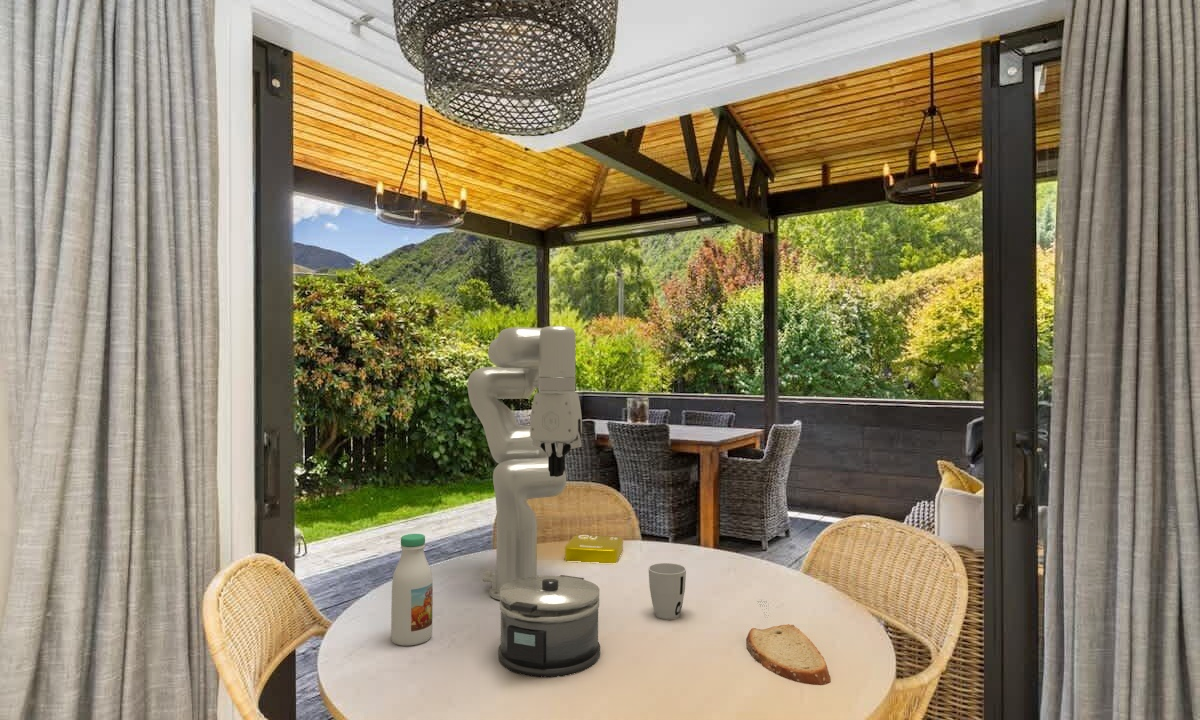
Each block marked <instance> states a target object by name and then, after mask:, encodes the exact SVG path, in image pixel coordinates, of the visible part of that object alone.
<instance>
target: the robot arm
mask: <svg viewBox="0 0 1200 720" xmlns="http://www.w3.org/2000/svg"><path fill="white" fill-rule="evenodd" d="M487 354H488V358H489V360H490V361H491V362H492V364H493V365H495V366H486V367H480V368H476V369H475V370H473V371H472V372H471V373H470V374H469V376H468V380H467V392H468V399H469V403H470V405H471V407H472V409H473V411H474V413H475V415H476V416H477V419H479V421H480V423H481V424H482V426H483V431H484V434H485V438H486V441H487V444H488V447H489V451H490V452H489V453H490V454H491V457H492V459H493V460H494V461H495V462H496V463H497V465H495V466H496V467H494V469H493V473H492V482H493V488H494V489H493V490H494V496H495V497H494V498H495V506H496V507H495V508H496V559H495V561H496V564H495V565H496V567H495V568H496V570H495V571H496V572H495V571H492V570H491V571H490V570H485V571H484V573H483V576H482V582H487V583H491V586H490V588H489V596H490V597H491V598H492V599H494V600H497V601H500V588H501V586H502V585H504V584H505V583H507V582H510V581H513V580H516V579H521V578H526V577H535V576H537V574H538V573H537V570H538V569H537V566H538V564H537V561H538V560H537V559H538V558H537V557H538V556H537V555H538V554H537V553H538V548H537V547H538V545H537V543H538V541H537V540H538V520H537V514H536V513H535V511H534V509H532V507H531V506H530V505H529V504H528V502H527V501H528V500H532V499H540V498H541V499H542V498H543V499H544V498H551V497H557V496H560V495H561V494H562V493H563V492H564V491H565V489H566V487H567V486H566V485H567V475H566V470H565V469H566V460H565V459H566V456H567V455H568V453H569V452H570V451H571V450H573V449H577V448H581V447H582V446H583V443H582V440H581V439H582V436H583V419H582V418H583V417H582V409H581V401H580V397H579V393H578V392H576V332H575V329H574V328H572V327H569V326H564V325H562V326H561V325H551V326H549V325H548V326H543V327H525V326H523V327H522V326H521V327H519V326H515V327H506V328H504V329H502V330H501V331H499V333H498V336H497V337H496V338H494V339H493V340H492V341H491V342H490V344H489V346H488V350H487ZM536 388H537V390H538V392H535V391H536ZM533 394H534V396H533V400H532V405H531V411H530V412H531V414H530V423H529V425H519V423H518V422H517V420H516V419H517V418H516V416H515V414H514V413H513V411H512V410H511V408H510V407H508V406H507V405H506V404H505V403H503V402H502V401H500V400H505V399H507V400H508V399H509V400H511V399H512V400H513V399H515V400H517V399H521V400H522V399H527V398H529V397H531V396H532V395H533ZM499 399H500V400H499Z"/></svg>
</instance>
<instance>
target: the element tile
mask: <svg viewBox="0 0 1200 720" xmlns="http://www.w3.org/2000/svg"><path fill="white" fill-rule="evenodd" d="M622 551H623V552H624V538H622V537H620V536H605V535H602V536H601V535H588V534H577V535H574V536H573V537H572V538H571V539H570V540H569V541H568V542H567V544H566V545H565V546H564V561H565V560H566V561H565V562H567V561H581V562H599V563H616V562H617V561H618V562H619V560H620V558H621V556H622V554H623V553H622ZM621 553H622V554H621ZM620 555H621V556H620ZM619 557H620V558H619ZM618 559H619V560H618ZM618 562H617V563H618ZM617 563H616V564H617Z"/></svg>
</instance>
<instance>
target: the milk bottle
mask: <svg viewBox="0 0 1200 720" xmlns="http://www.w3.org/2000/svg"><path fill="white" fill-rule="evenodd" d="M425 543H426V536H425V535H424V534H422V533H409V534H404V535H402V536H401V537H400V549H401V555H400V557H399V561H398V563H397V565H396V568H395V570H394V572H393V576H392V583H391V613H390V614H391V616H390V619H391V620H390V627H391V629H390V632H391V633H390V635H391V638H390V639H391V642H392V643H393V644H395V645H398V646H402V647H404V646H408V647H409V646H416V645H417V646H418V645H421V644H423V643H427V641H429V640H430V639H431V638H432V636H433V604H434V603H433V599H434V598H433V594H434V593H433V590H434V589H433V588H434V587H433V574H432V570H431V567H430V565H429V563H428V562H429V561H428V560H427V558H426V553H425V549H424V548H425V546H426V545H425Z"/></svg>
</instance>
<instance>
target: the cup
mask: <svg viewBox="0 0 1200 720" xmlns="http://www.w3.org/2000/svg"><path fill="white" fill-rule="evenodd" d="M686 576H687V568H686V567H685V566H684V565H681V564H678V563H672V562H661V563H654V564H651V565H649V566H648V583H649V585H648V586H649V591H650V598H651V605H652V607H653V610H654V614H655V616H656V617H657V618H659V619H661V620H662V619H663V620H675V619H678V618H679V617H680V615H681V611H682V608H683V603H684V597H685V592H686V590H685V589H686V578H687V577H686Z"/></svg>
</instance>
